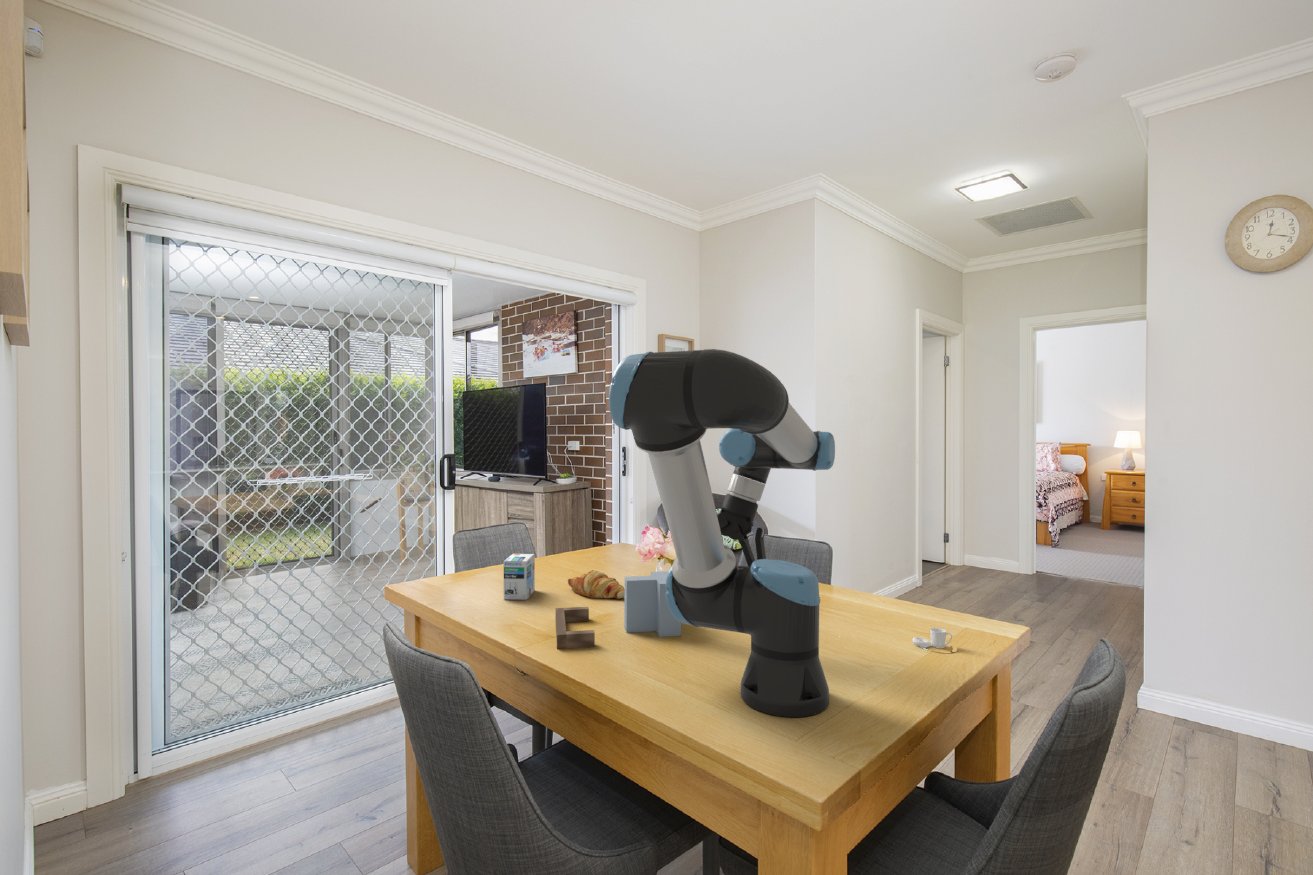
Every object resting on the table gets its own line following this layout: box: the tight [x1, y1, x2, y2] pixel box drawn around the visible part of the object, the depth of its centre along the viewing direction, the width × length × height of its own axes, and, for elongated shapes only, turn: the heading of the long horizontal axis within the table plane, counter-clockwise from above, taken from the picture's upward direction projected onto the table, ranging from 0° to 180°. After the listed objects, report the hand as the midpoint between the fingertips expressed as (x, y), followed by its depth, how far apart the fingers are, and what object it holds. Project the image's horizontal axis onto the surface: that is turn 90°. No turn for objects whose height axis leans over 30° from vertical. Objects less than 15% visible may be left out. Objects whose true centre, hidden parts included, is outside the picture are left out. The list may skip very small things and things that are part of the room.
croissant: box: [567, 569, 625, 599], centre depth 176 cm, size 21×10×8 cm, turn 57°
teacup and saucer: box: [912, 627, 953, 651], centre depth 135 cm, size 9×8×4 cm
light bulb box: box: [503, 553, 536, 601], centre depth 175 cm, size 11×7×11 cm, turn 179°
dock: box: [554, 606, 596, 650], centre depth 143 cm, size 8×20×3 cm, turn 10°
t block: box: [623, 570, 682, 638], centre depth 146 cm, size 12×12×12 cm
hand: (712, 589), depth 137 cm, fingers open, 13 cm apart
